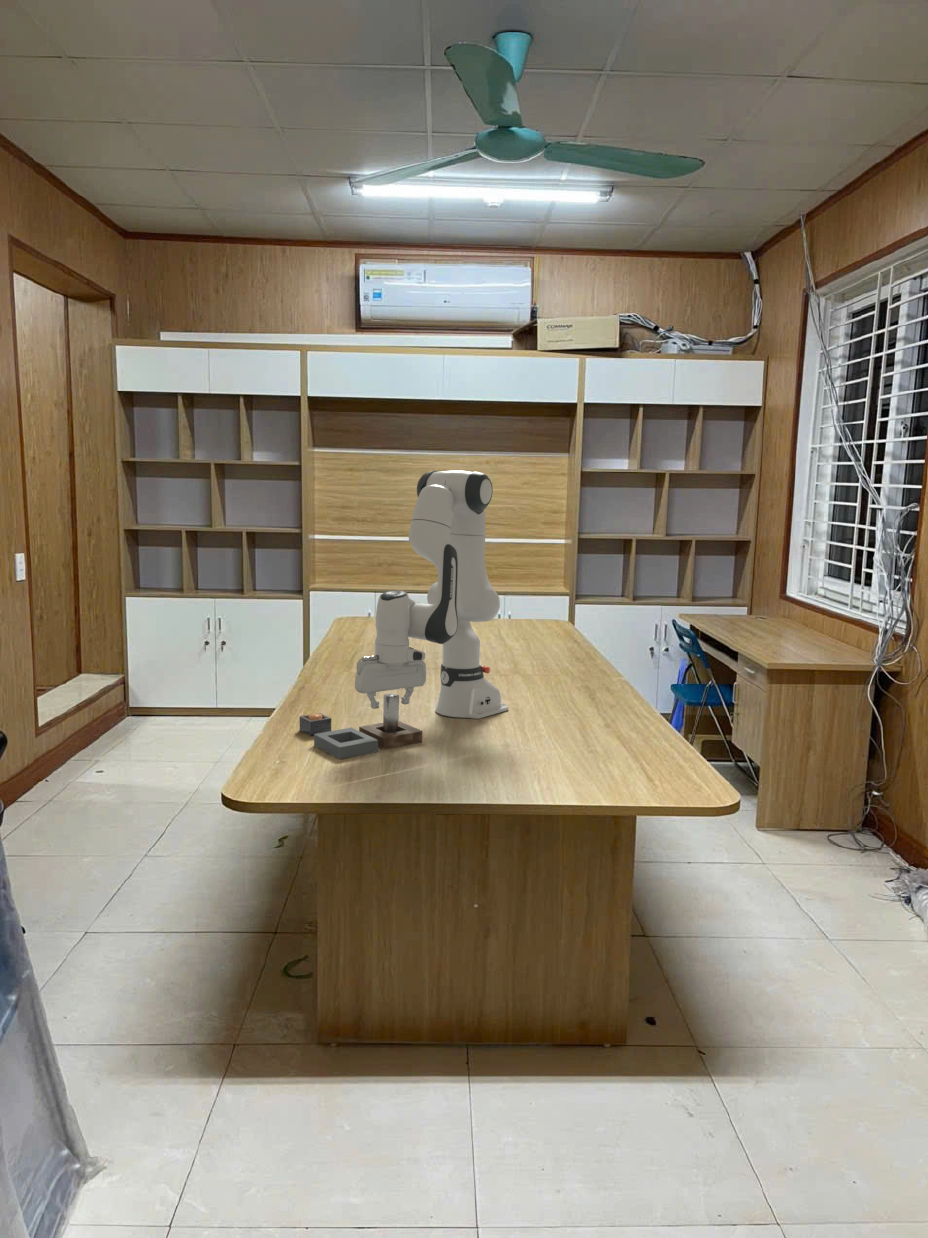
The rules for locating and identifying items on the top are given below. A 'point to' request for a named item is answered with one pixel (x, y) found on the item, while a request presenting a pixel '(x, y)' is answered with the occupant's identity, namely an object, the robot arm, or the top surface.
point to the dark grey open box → (315, 725)
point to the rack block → (345, 743)
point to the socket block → (393, 735)
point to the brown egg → (315, 716)
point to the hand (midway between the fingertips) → (390, 706)
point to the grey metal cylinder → (390, 713)
